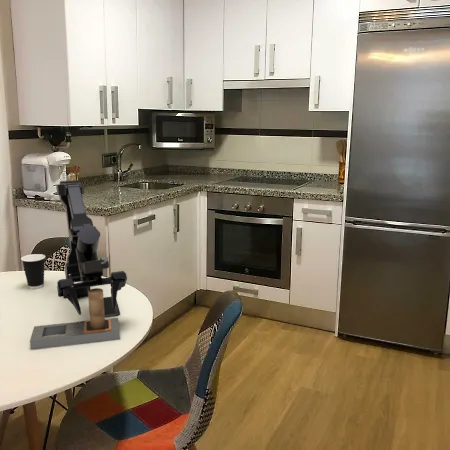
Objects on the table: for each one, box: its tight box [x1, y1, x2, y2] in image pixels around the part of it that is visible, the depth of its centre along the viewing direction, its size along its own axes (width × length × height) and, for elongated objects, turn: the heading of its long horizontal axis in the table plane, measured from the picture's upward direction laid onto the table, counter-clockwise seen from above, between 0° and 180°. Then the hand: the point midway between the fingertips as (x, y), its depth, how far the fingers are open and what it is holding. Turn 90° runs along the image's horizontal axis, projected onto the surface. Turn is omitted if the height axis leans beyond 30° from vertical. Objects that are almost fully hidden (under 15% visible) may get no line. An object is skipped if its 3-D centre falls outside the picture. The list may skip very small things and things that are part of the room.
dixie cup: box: [20, 253, 46, 290], centre depth 170 cm, size 8×8×11 cm
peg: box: [87, 287, 106, 331], centre depth 133 cm, size 4×4×13 cm
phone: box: [103, 296, 121, 319], centre depth 153 cm, size 8×1×15 cm
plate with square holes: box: [29, 317, 121, 350], centre depth 133 cm, size 23×9×3 cm, turn 105°
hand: (97, 311), depth 132 cm, fingers open, 9 cm apart
